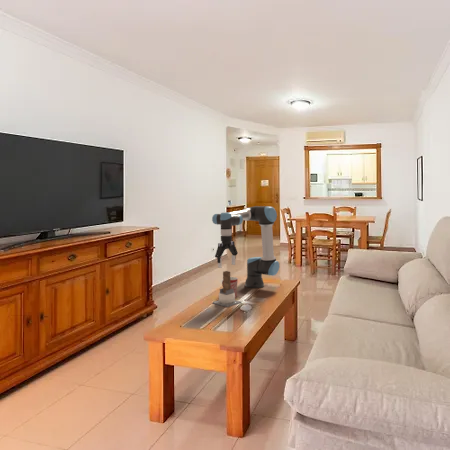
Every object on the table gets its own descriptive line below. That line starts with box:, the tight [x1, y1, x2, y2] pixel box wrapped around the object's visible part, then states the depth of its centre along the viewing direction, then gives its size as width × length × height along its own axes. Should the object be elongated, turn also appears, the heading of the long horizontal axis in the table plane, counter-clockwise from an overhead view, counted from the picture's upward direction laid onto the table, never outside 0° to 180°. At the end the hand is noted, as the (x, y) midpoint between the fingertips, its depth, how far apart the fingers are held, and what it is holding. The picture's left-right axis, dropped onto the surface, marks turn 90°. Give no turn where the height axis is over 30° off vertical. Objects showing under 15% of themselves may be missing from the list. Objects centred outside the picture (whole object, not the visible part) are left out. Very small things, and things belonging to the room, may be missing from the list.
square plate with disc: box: [212, 287, 242, 308], centre depth 290 cm, size 14×14×10 cm
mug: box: [221, 276, 239, 298], centre depth 308 cm, size 13×9×14 cm
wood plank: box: [222, 270, 231, 293], centre depth 289 cm, size 3×4×15 cm
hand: (226, 266), depth 288 cm, fingers open, 13 cm apart
